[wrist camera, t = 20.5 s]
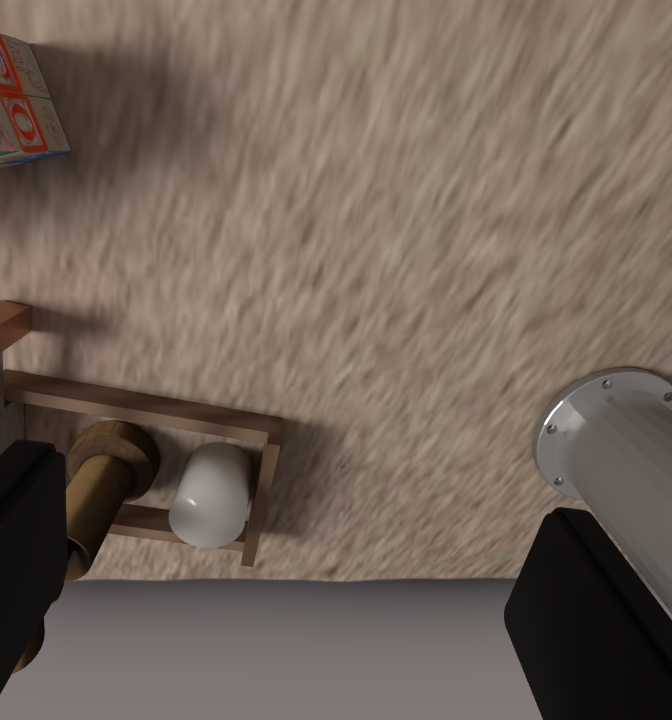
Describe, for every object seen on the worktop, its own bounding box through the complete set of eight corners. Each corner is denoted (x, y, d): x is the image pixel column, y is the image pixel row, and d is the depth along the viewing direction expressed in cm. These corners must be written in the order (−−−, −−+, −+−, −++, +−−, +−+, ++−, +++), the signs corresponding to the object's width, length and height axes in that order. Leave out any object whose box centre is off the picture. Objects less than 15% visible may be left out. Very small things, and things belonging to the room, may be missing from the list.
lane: (282, 418, 40) (279, 453, 36) (257, 531, 45) (251, 576, 40) (-17, 365, 37) (-63, 397, 33) (-12, 494, 42) (-51, 537, 37)
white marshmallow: (258, 448, 41) (251, 495, 36) (247, 500, 44) (238, 552, 38) (190, 436, 41) (173, 483, 35) (182, 490, 43) (164, 542, 37)
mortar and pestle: (63, 461, 41) (-100, 679, 24) (100, 405, 39) (-49, 599, 23) (137, 499, 43) (32, 724, 26) (176, 446, 41) (89, 653, 24)
